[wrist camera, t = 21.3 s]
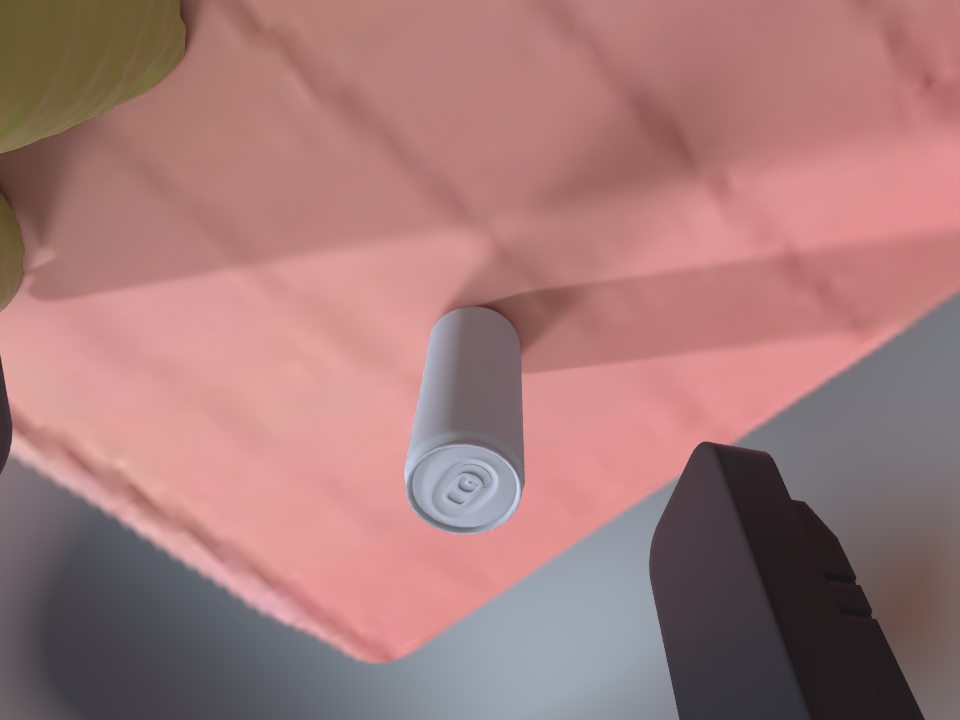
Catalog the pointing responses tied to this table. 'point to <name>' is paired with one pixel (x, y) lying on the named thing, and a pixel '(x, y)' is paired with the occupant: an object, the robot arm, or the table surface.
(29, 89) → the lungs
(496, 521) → the beverage can
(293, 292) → the table surface
